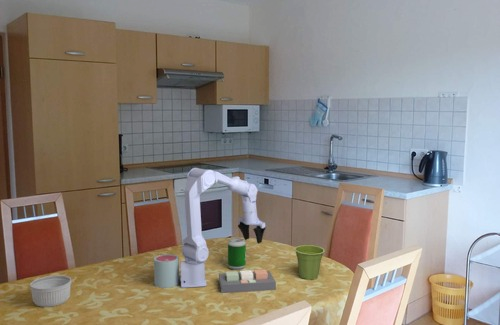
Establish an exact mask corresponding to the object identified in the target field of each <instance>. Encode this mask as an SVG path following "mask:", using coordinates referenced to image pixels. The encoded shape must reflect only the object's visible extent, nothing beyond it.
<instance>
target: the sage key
mask: <svg viewBox="0 0 500 325" xmlns="http://www.w3.org/2000/svg"><path fill="white" fill-rule="evenodd" d="M225 273H226V281H239V275H238V270H231V271H230V270H229V271H225Z"/></svg>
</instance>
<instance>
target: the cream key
mask: <svg viewBox="0 0 500 325" xmlns="http://www.w3.org/2000/svg"><path fill="white" fill-rule="evenodd" d="M239 272H240V279H241V280H253V273H252V272H253V271H252V270H250V269H249V270H239Z"/></svg>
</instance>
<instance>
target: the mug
mask: <svg viewBox="0 0 500 325" xmlns="http://www.w3.org/2000/svg"><path fill="white" fill-rule="evenodd" d="M179 259H180V257H179V256H178V255H176V254H171V253H169V254H168V253H167V254H166V253H165V254H160V255H156V256H155V257H154V258H153V269H154V270H153V272H154V274H153V275H154V276H153V278H154V280H153V282H154V287H156V288H161V289H169V288H173V287H177V286H178V285H179V284H180V265H179V264H180V262H179Z"/></svg>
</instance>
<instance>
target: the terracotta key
mask: <svg viewBox="0 0 500 325" xmlns="http://www.w3.org/2000/svg"><path fill="white" fill-rule="evenodd" d="M267 271H268V270H266V269H254V270H253V272H254V277H255V280H257V279H268V273H267Z"/></svg>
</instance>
